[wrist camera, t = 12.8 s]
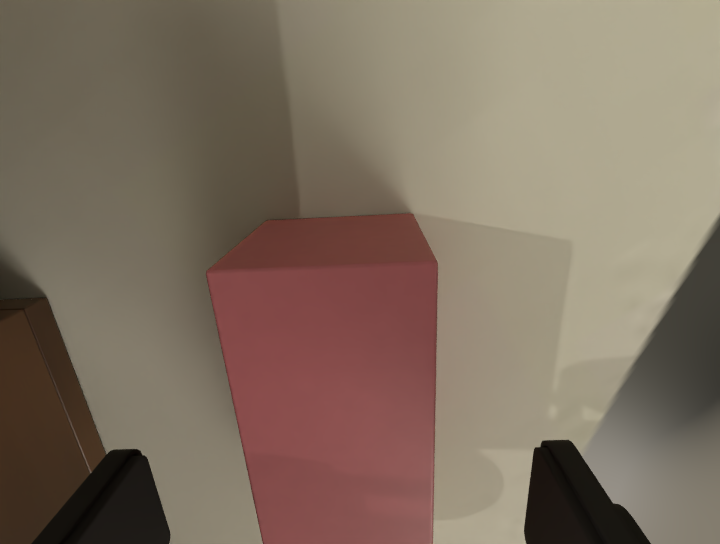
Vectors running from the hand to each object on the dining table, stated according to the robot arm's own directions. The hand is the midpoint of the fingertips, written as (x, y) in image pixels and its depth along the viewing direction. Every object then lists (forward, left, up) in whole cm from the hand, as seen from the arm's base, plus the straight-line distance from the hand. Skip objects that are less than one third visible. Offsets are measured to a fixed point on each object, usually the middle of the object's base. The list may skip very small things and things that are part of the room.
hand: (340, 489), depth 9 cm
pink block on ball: (+1, 0, -5) cm, 5 cm away
